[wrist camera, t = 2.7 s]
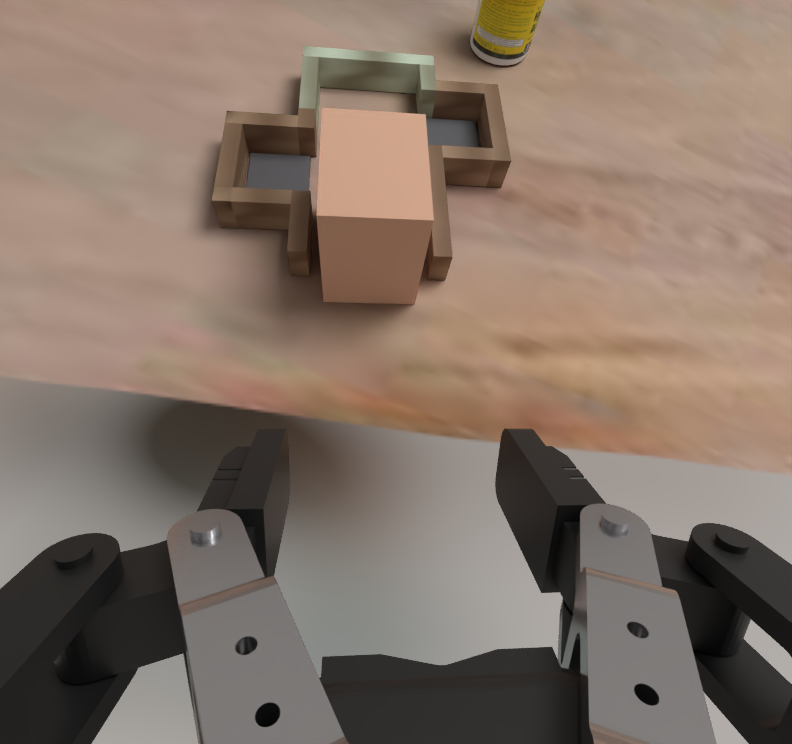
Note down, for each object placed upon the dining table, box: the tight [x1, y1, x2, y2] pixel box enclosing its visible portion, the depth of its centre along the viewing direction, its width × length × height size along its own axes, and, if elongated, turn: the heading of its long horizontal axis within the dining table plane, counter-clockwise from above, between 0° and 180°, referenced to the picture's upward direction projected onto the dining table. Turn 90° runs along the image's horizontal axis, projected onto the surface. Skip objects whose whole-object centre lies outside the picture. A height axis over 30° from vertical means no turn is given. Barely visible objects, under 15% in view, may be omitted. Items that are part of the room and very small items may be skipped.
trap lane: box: [212, 46, 511, 280], centre depth 36 cm, size 20×20×2 cm
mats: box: [246, 118, 479, 191], centre depth 37 cm, size 18×11×1 cm, turn 92°
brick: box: [316, 108, 434, 304], centre depth 30 cm, size 6×8×8 cm
